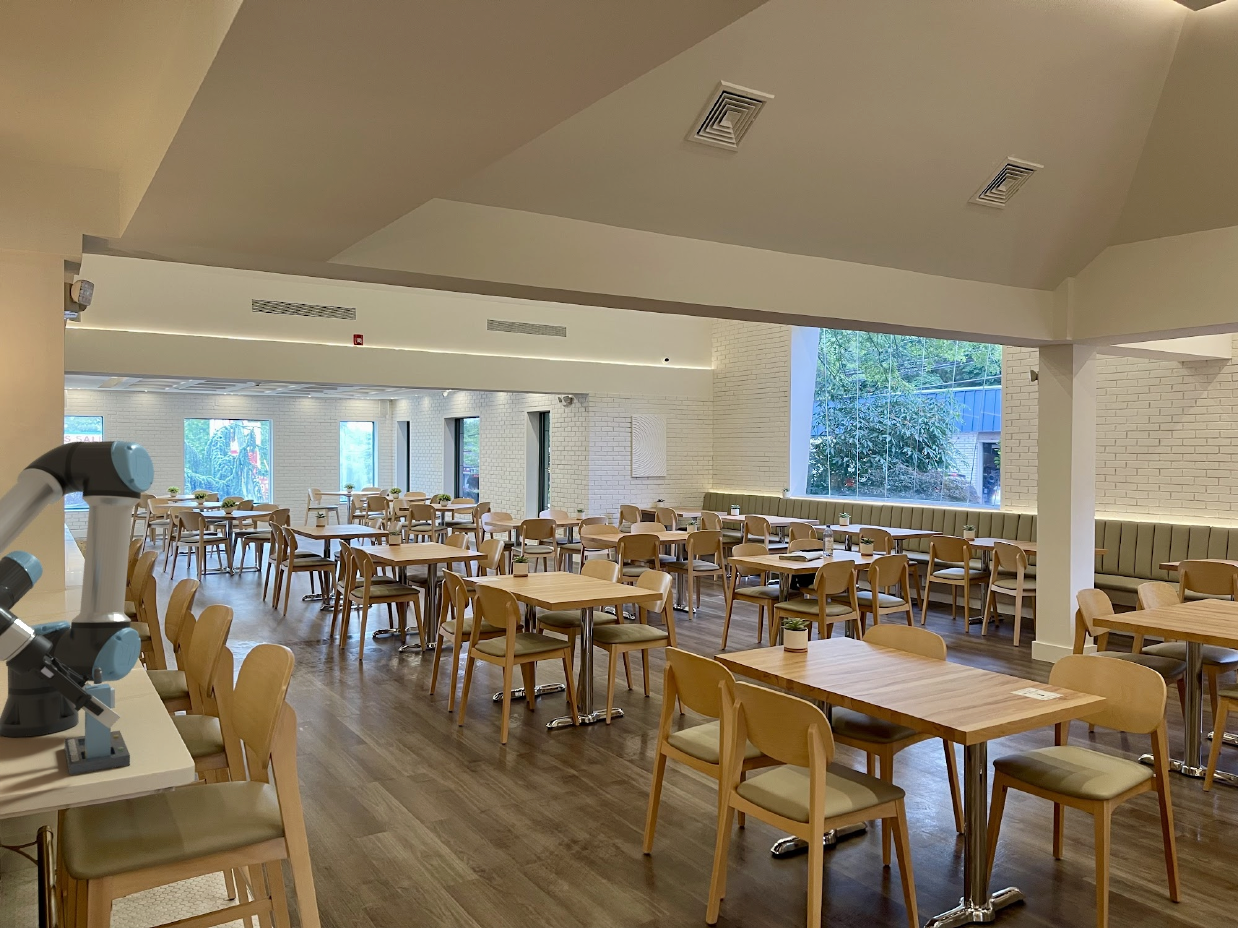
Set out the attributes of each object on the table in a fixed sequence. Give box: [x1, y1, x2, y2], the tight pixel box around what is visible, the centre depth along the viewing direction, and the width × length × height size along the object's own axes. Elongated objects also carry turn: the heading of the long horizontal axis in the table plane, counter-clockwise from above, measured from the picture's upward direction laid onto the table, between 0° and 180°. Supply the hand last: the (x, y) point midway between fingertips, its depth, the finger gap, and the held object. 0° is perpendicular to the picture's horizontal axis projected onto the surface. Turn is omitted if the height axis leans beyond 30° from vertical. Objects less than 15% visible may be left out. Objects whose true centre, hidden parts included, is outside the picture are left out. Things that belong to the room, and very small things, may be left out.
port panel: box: [64, 730, 131, 776], centre depth 179 cm, size 20×10×2 cm, turn 34°
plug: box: [84, 667, 116, 759], centre depth 175 cm, size 4×5×19 cm
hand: (111, 714), depth 176 cm, fingers open, 13 cm apart
